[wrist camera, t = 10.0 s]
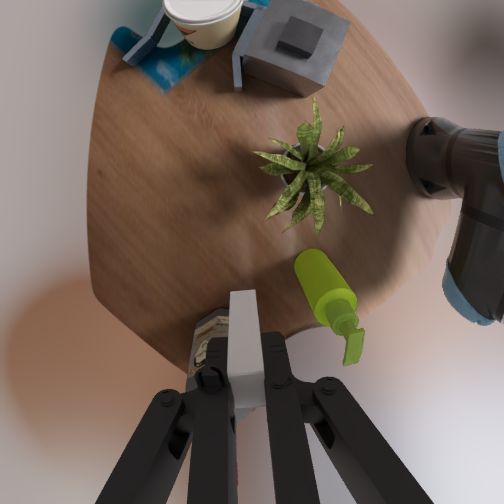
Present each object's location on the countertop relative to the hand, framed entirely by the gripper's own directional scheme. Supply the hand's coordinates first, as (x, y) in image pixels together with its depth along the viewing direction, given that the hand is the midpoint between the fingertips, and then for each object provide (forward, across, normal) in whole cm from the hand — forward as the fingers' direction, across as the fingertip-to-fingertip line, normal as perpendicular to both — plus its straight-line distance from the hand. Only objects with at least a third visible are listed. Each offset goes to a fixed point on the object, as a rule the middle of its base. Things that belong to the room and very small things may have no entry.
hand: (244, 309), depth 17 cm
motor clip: (+26, +1, +27) cm, 37 cm away
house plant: (+26, +8, +7) cm, 28 cm away
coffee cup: (+26, -2, +29) cm, 39 cm away
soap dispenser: (+26, +11, -11) cm, 30 cm away
